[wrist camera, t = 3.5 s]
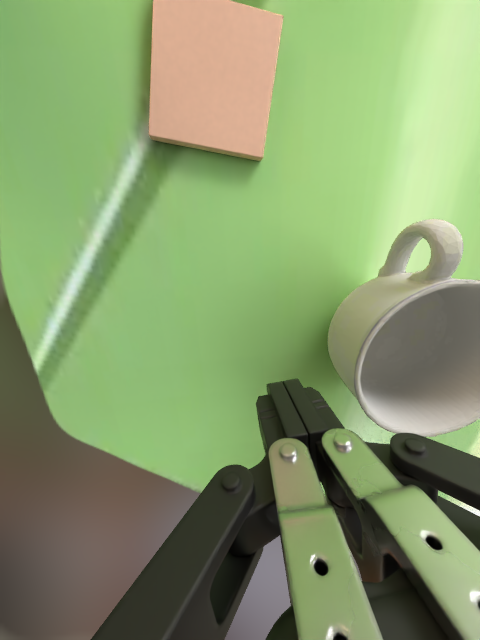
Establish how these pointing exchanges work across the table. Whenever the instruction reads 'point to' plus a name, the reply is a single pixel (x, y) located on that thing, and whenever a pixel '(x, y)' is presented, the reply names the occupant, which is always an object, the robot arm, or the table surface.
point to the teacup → (413, 338)
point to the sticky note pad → (212, 75)
